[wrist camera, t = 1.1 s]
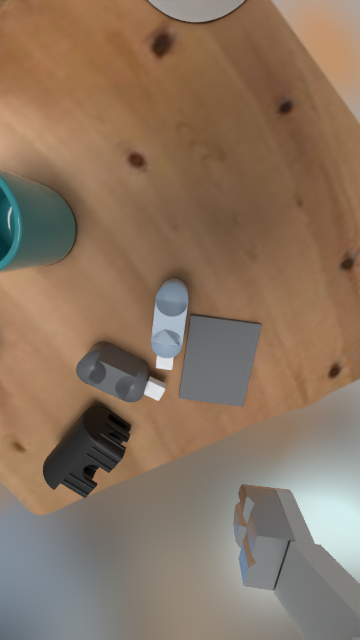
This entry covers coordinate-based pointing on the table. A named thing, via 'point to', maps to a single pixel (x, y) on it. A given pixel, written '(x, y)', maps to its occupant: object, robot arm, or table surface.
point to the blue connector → (169, 322)
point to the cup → (32, 224)
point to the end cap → (87, 451)
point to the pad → (218, 359)
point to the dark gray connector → (118, 373)
